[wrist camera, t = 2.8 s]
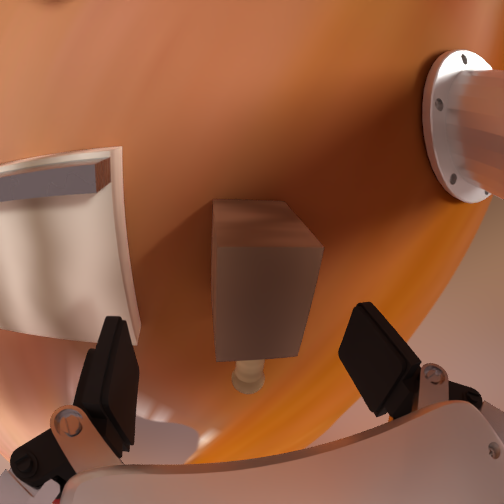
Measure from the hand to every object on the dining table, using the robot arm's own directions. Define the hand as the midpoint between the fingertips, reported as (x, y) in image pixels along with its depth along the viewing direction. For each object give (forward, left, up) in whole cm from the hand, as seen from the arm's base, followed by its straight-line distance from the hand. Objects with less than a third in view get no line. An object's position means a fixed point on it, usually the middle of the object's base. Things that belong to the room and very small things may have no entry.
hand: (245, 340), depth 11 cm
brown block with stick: (-1, +2, -7) cm, 7 cm away
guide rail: (+17, -6, -5) cm, 19 cm away
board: (+17, -1, -7) cm, 18 cm away
